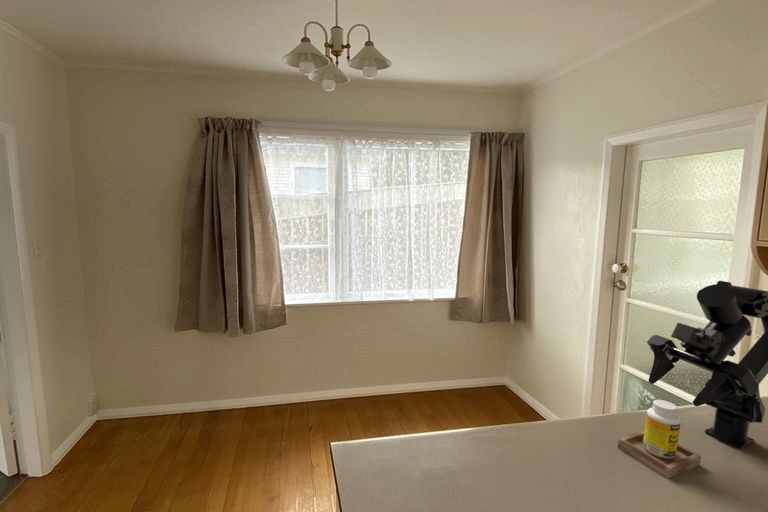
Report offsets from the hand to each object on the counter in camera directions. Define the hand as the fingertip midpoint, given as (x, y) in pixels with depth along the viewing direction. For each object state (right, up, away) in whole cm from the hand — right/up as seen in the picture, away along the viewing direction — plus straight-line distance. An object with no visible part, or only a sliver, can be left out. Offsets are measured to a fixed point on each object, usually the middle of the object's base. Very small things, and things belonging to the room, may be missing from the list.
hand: (670, 393), depth 78 cm
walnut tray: (-2, -13, +1) cm, 14 cm away
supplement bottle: (-1, -12, +1) cm, 13 cm away
